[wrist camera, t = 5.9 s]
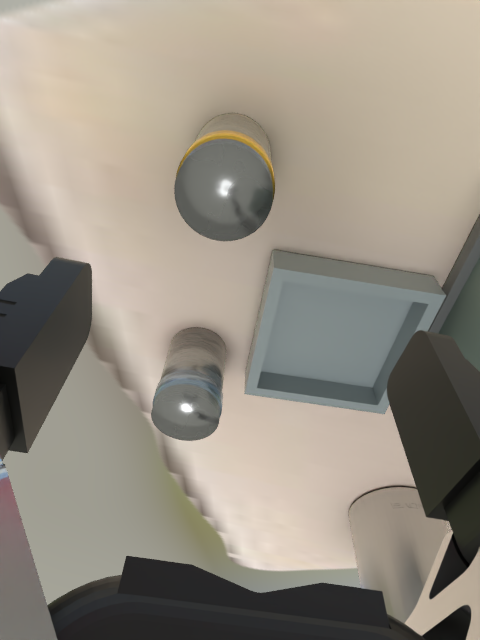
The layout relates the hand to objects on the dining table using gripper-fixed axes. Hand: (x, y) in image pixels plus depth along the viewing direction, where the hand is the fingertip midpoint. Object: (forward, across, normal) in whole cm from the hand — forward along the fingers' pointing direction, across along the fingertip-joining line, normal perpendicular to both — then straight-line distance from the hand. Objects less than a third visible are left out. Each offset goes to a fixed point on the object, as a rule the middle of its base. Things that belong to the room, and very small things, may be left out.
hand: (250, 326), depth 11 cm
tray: (+17, -8, +11) cm, 22 cm away
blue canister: (+17, +1, +16) cm, 23 cm away
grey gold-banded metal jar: (+17, +1, +1) cm, 17 cm away
